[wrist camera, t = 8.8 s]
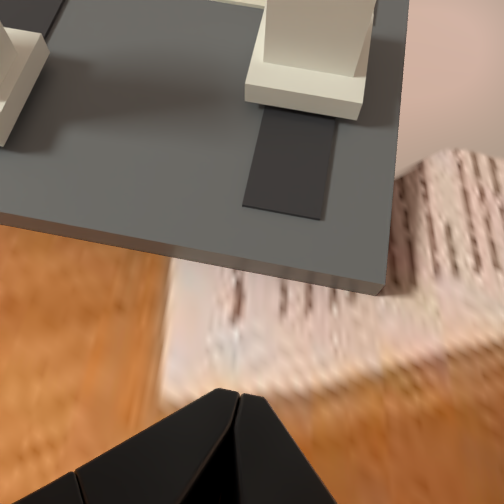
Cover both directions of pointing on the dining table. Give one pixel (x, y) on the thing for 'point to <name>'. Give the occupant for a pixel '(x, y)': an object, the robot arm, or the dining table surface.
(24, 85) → the tab
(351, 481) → the dining table surface
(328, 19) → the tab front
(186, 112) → the switch board
